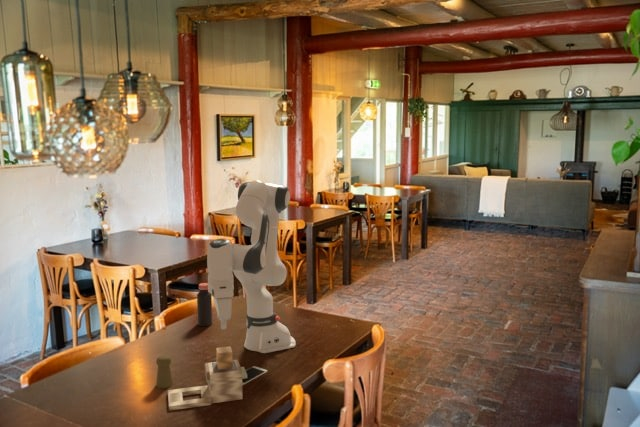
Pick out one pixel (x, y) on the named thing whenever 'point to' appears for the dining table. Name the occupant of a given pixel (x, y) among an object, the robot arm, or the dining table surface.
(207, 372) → the cover
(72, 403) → the dining table surface
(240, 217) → the robot arm
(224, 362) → the block
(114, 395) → the dining table surface
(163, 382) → the olive pepper mill
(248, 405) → the dining table surface
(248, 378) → the smartphone
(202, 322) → the bottle
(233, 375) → the beige stepped box
